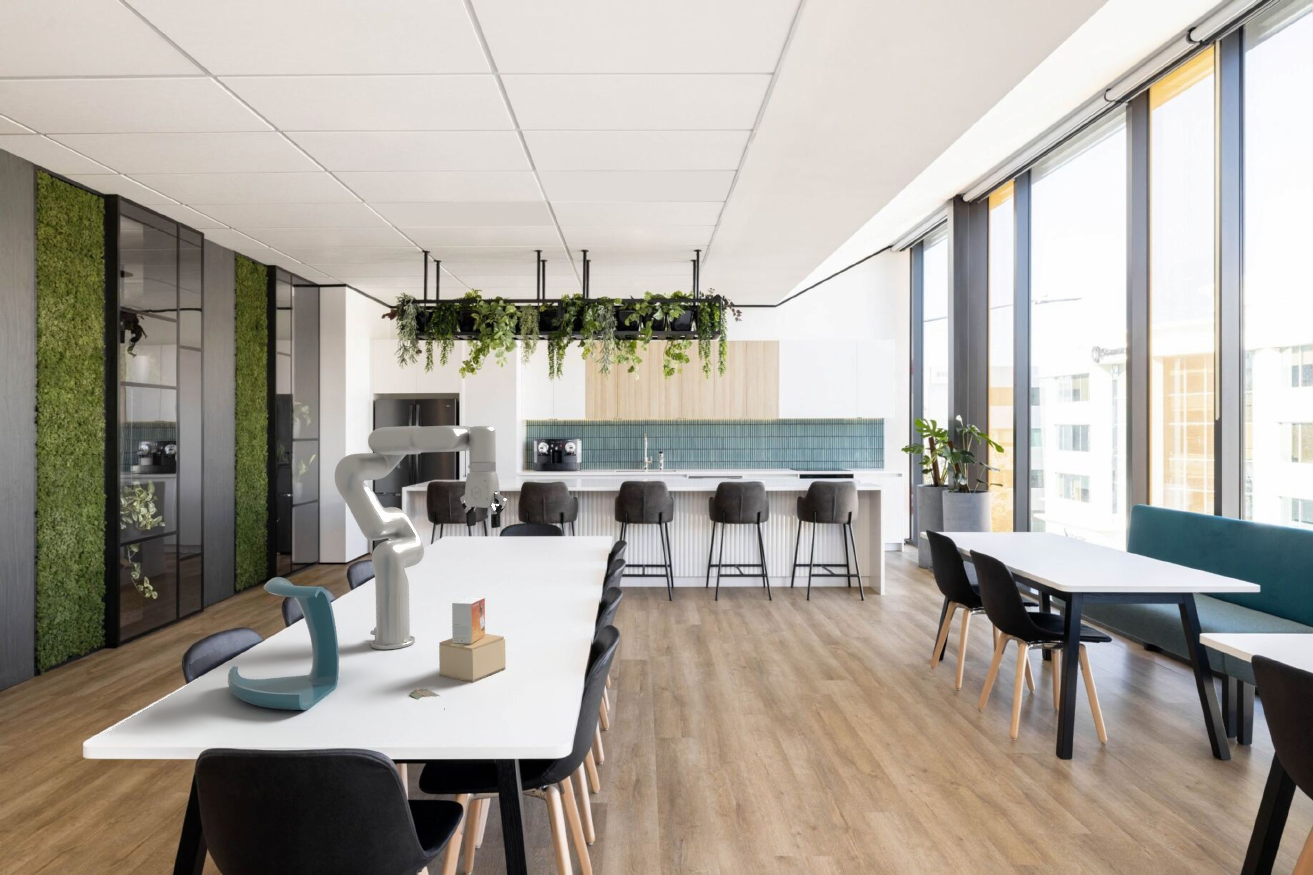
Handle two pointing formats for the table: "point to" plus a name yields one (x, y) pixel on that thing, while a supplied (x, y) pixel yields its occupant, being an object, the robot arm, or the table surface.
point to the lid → (476, 645)
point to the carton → (472, 662)
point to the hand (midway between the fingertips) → (483, 526)
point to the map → (423, 693)
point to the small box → (468, 620)
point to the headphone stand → (324, 648)
